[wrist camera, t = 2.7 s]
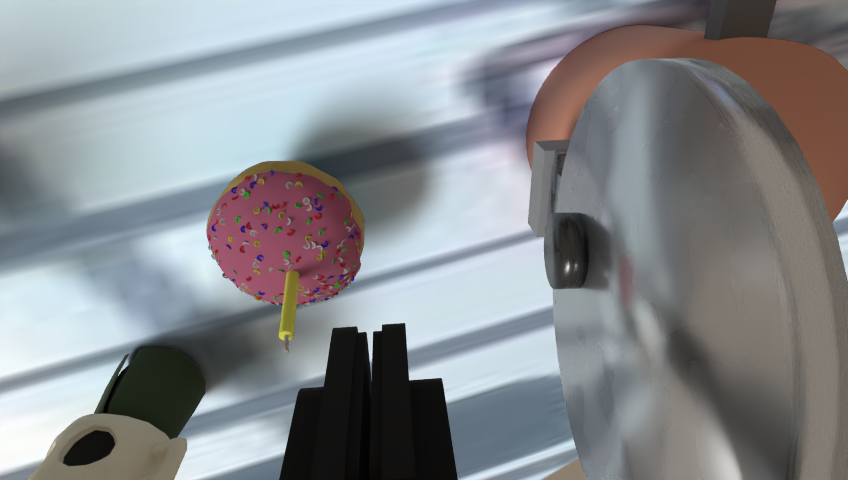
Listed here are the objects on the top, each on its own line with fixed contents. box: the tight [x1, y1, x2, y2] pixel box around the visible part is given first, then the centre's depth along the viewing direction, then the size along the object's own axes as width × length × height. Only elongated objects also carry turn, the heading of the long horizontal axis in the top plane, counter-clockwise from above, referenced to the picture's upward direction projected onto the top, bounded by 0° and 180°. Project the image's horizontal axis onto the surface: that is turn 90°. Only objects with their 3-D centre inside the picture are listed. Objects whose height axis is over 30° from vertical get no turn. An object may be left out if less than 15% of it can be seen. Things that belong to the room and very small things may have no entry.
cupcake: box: [207, 161, 364, 353], centre depth 25 cm, size 9×8×12 cm
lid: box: [544, 58, 848, 480], centre depth 14 cm, size 13×15×2 cm
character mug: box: [27, 347, 205, 480], centre depth 30 cm, size 11×7×13 cm, turn 114°
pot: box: [526, 0, 848, 237], centre depth 25 cm, size 18×14×10 cm
